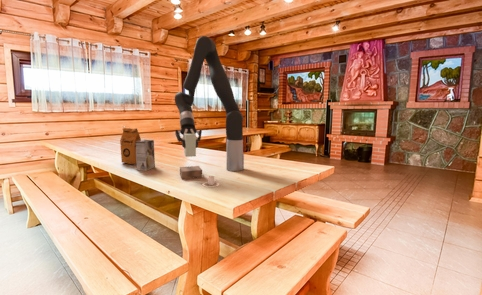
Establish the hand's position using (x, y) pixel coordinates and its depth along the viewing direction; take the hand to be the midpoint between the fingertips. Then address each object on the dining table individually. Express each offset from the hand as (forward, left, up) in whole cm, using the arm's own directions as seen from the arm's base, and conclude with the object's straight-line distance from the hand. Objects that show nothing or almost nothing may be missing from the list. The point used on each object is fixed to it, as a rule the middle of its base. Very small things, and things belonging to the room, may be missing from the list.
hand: (190, 147), depth 132 cm
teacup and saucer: (-10, +15, -16) cm, 24 cm away
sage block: (0, -2, -5) cm, 5 cm away
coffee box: (+22, -26, -16) cm, 37 cm away
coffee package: (+30, -43, -16) cm, 55 cm away
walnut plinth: (0, -2, -15) cm, 15 cm away
